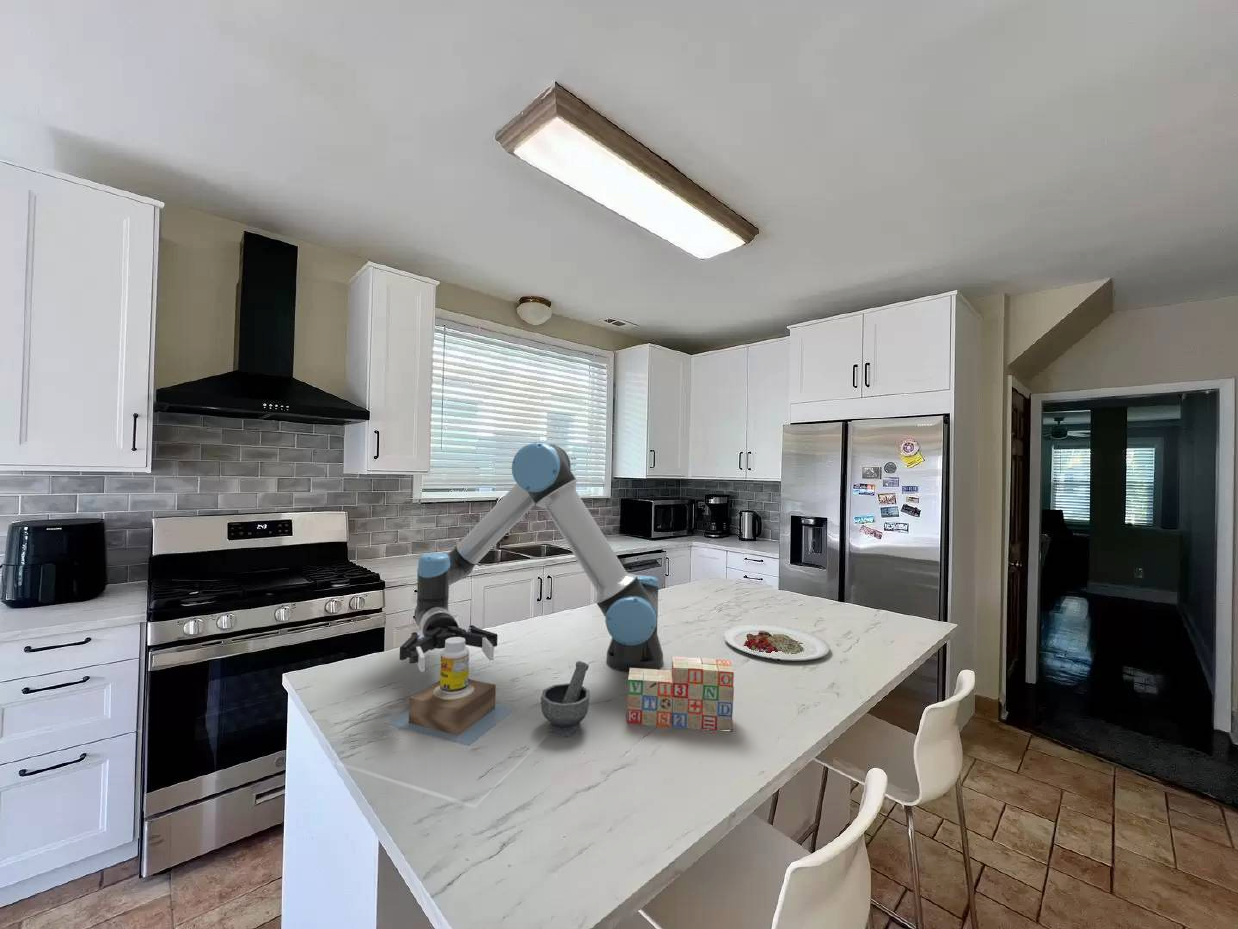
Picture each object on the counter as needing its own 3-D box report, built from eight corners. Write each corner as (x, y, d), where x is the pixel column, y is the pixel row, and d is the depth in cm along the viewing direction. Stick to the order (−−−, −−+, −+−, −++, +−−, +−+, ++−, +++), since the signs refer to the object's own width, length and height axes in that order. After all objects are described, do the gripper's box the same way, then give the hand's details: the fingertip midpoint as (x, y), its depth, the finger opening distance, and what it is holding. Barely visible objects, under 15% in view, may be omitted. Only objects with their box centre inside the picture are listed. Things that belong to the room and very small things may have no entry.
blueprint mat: (516, 710, 110) (516, 708, 110) (469, 747, 95) (469, 745, 95) (440, 692, 117) (440, 690, 117) (385, 725, 102) (385, 723, 102)
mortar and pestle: (566, 747, 96) (567, 682, 96) (530, 731, 101) (531, 669, 101) (602, 723, 105) (604, 664, 105) (567, 709, 110) (569, 653, 110)
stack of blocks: (626, 724, 105) (627, 664, 105) (628, 710, 111) (629, 653, 111) (732, 732, 103) (734, 671, 103) (729, 717, 109) (730, 659, 109)
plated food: (838, 643, 159) (838, 632, 159) (817, 675, 133) (817, 662, 133) (743, 624, 175) (743, 614, 175) (708, 650, 149) (708, 638, 149)
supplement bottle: (436, 687, 107) (437, 638, 107) (463, 682, 110) (464, 633, 110) (443, 698, 102) (445, 646, 102) (471, 692, 105) (473, 641, 105)
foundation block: (495, 708, 109) (495, 683, 109) (458, 735, 98) (459, 708, 98) (449, 697, 113) (449, 674, 113) (408, 722, 102) (409, 696, 102)
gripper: (491, 636, 127) (518, 667, 109) (381, 652, 115) (390, 689, 97) (492, 606, 127) (519, 631, 109) (381, 618, 115) (391, 649, 97)
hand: (458, 659), depth 103 cm, fingers open, 13 cm apart
